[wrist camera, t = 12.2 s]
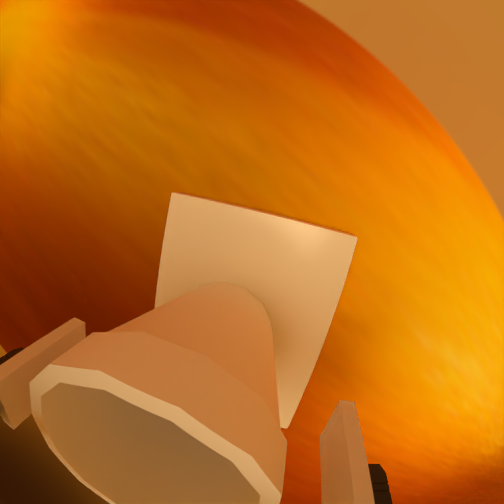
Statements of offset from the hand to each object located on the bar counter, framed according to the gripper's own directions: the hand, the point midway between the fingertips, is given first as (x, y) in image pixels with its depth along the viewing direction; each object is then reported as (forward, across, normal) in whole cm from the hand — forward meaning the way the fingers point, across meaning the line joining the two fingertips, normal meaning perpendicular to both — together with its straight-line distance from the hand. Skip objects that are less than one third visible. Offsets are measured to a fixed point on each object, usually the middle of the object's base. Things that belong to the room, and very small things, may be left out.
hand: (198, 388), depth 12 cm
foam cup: (+7, 0, 0) cm, 7 cm away
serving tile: (+8, 0, 0) cm, 9 cm away
